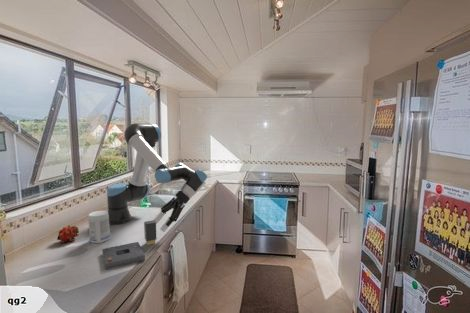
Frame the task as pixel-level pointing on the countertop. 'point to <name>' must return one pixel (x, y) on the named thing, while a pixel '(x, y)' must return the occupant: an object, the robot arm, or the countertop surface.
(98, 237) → the supplement tub
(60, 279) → the countertop surface
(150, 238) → the plug
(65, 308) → the countertop surface
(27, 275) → the countertop surface
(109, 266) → the socket plate
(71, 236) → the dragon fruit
